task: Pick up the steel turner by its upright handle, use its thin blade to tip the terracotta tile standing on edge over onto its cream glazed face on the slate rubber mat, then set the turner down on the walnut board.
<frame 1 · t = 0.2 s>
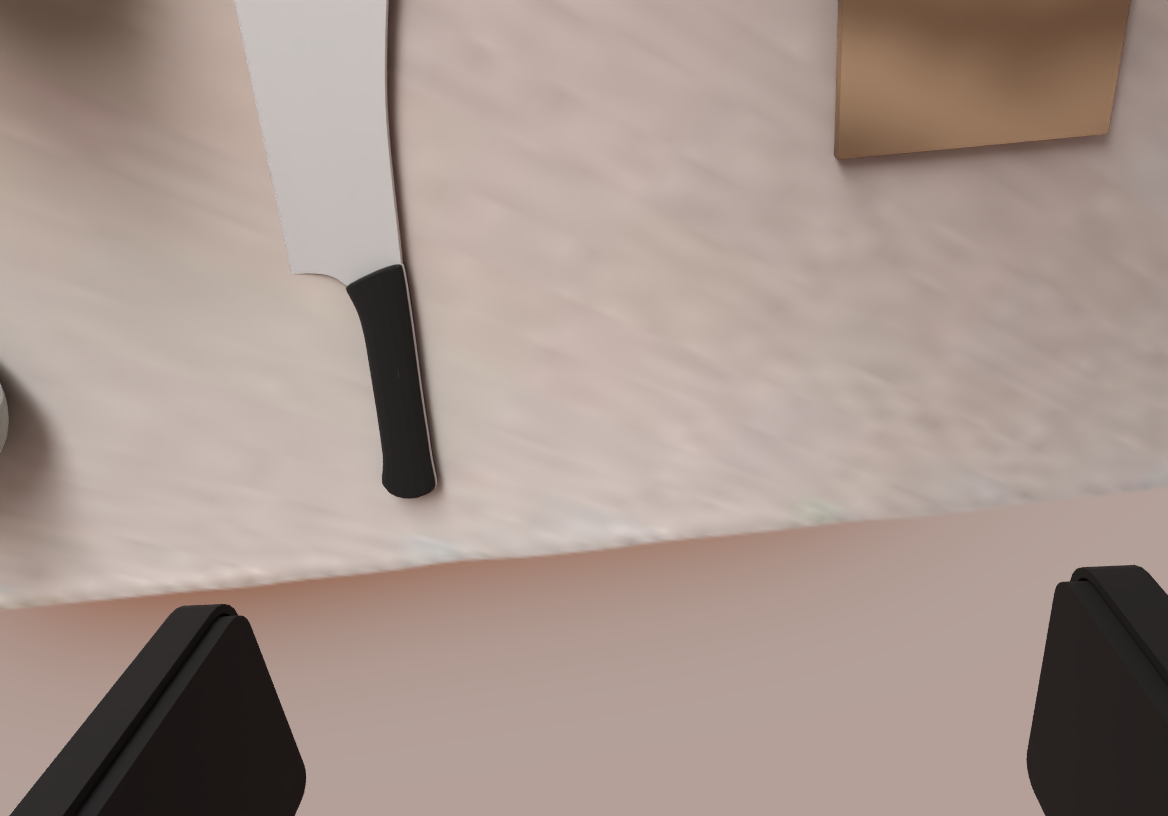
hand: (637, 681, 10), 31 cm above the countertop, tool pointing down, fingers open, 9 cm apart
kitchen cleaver: (341, 211, 40), on the countertop
board: (975, 4, 33), on the countertop
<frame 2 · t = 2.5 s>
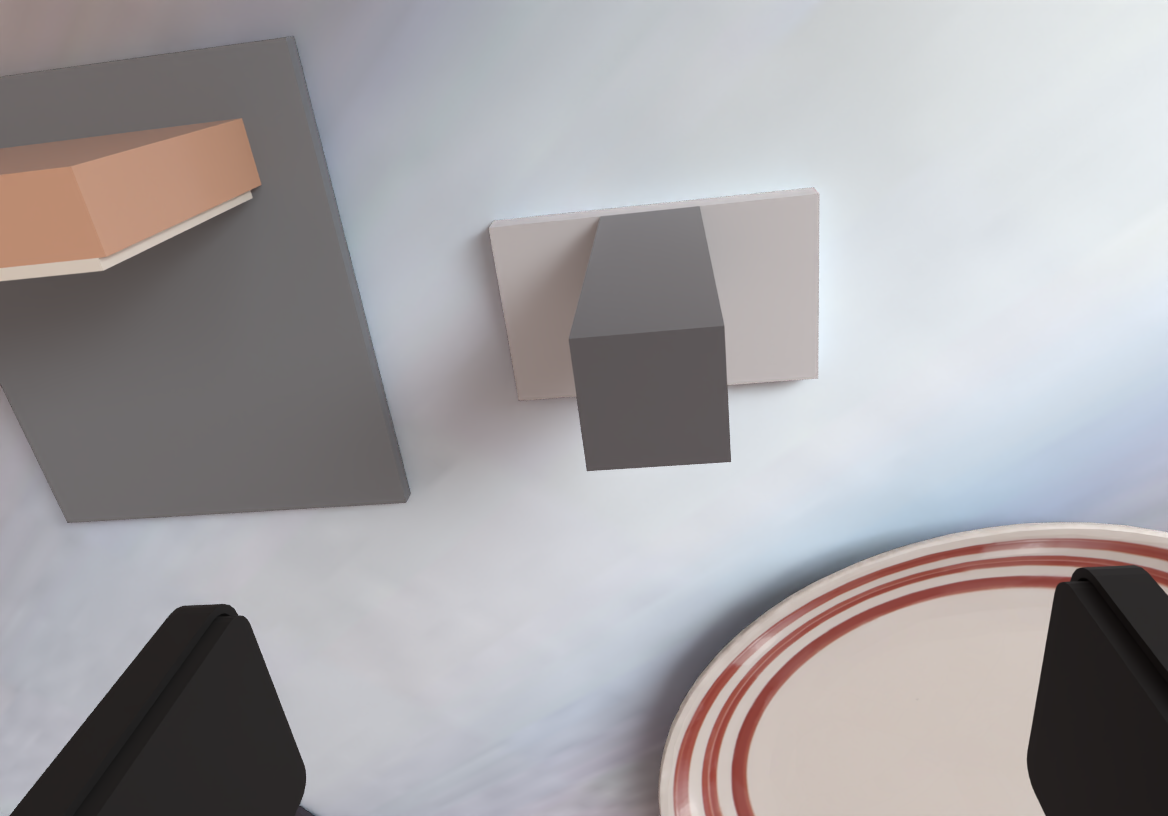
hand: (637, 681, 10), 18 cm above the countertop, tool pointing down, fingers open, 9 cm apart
tile: (103, 169, 26), point 1 cm above the countertop, touching mat
dinner plate: (975, 750, 35), on the countertop
turner: (657, 294, 27), on the countertop
mat: (168, 312, 28), on the countertop
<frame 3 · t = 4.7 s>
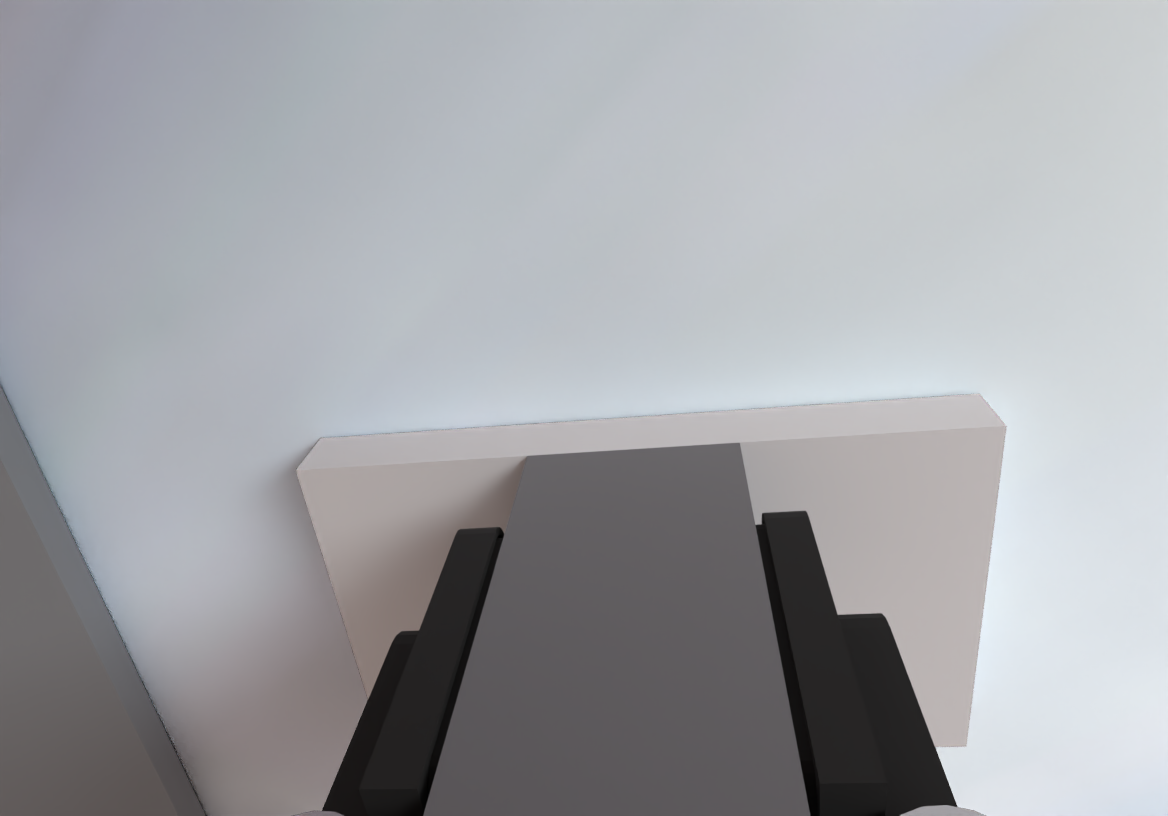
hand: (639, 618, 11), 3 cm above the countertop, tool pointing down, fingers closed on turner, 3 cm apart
turner: (649, 575, 14), on the countertop, touching gripper
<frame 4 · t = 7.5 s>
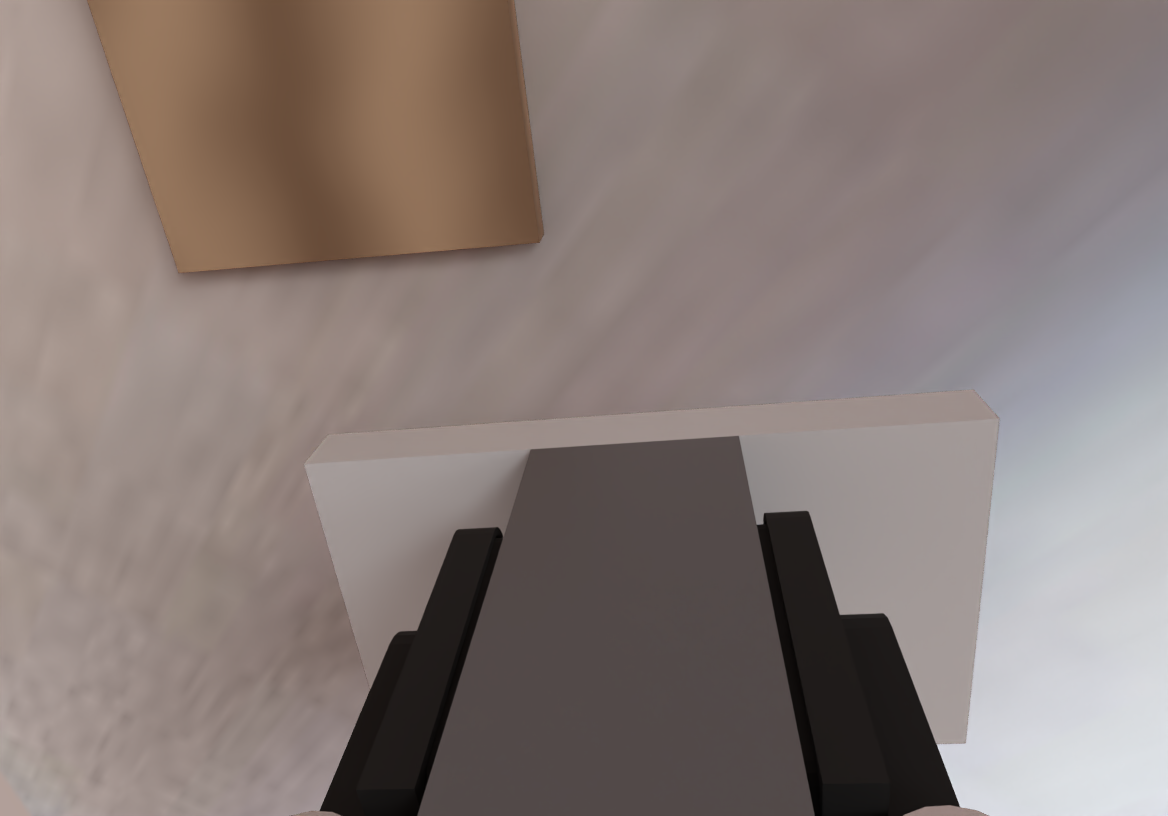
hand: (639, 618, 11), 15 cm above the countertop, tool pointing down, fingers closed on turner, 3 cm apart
board: (320, 51, 22), on the countertop
turner: (650, 572, 14), point 12 cm above the countertop, touching gripper
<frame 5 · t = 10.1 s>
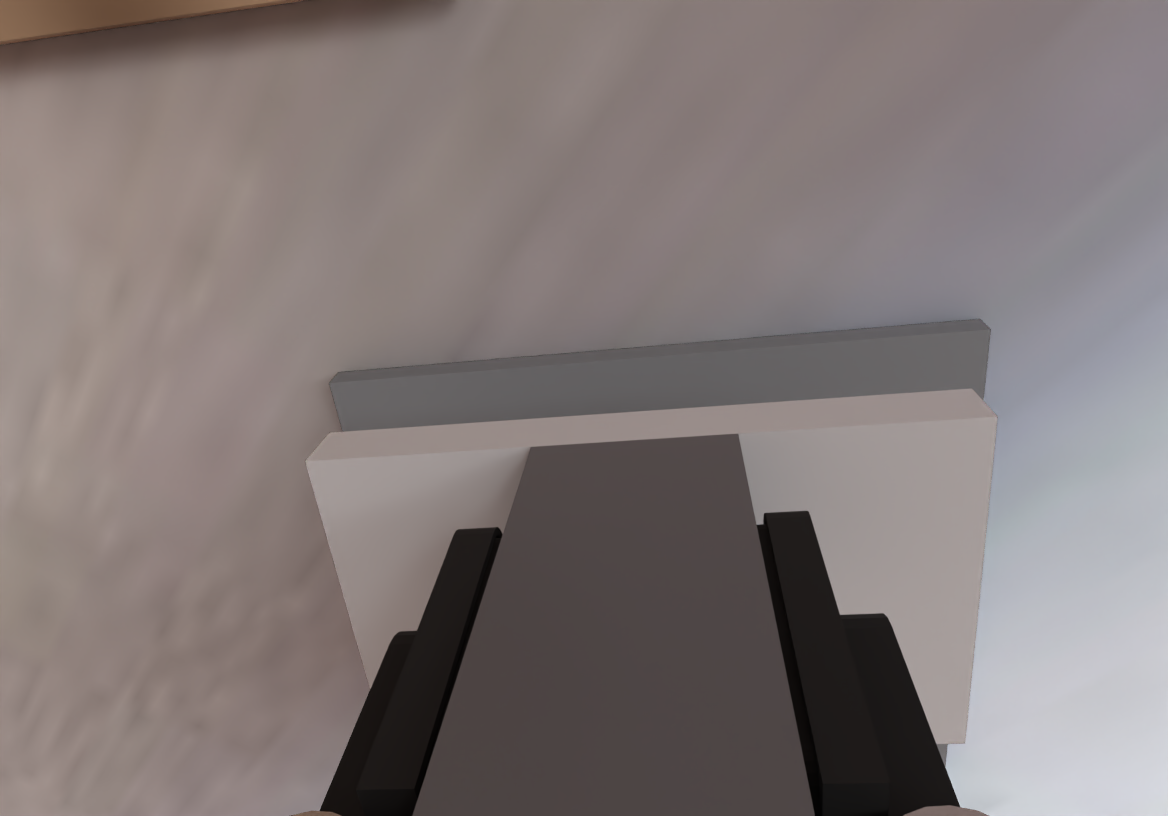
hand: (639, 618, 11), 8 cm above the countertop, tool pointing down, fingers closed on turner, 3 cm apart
turner: (650, 571, 14), point 5 cm above the countertop, touching gripper
mat: (670, 630, 21), on the countertop
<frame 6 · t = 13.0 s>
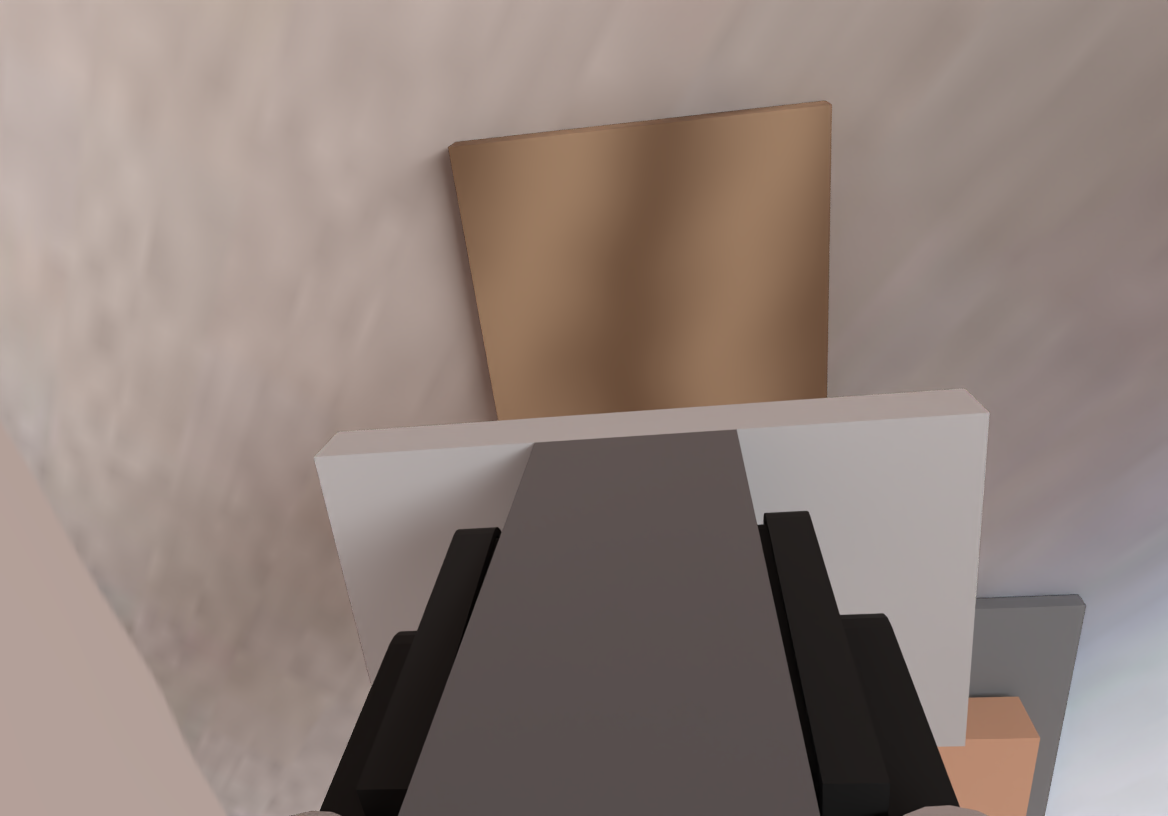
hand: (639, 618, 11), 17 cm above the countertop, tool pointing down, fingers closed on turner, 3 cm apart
board: (649, 298, 26), on the countertop
tile: (892, 719, 31), point 2 cm above the countertop, tilted 90°, touching mat
turner: (651, 572, 14), point 14 cm above the countertop, tilted 5°, touching gripper
mat: (876, 749, 35), on the countertop
when the fingers open (5 cm above the countertop, at t = 15.5 s): turner stays where it is, resting on board.
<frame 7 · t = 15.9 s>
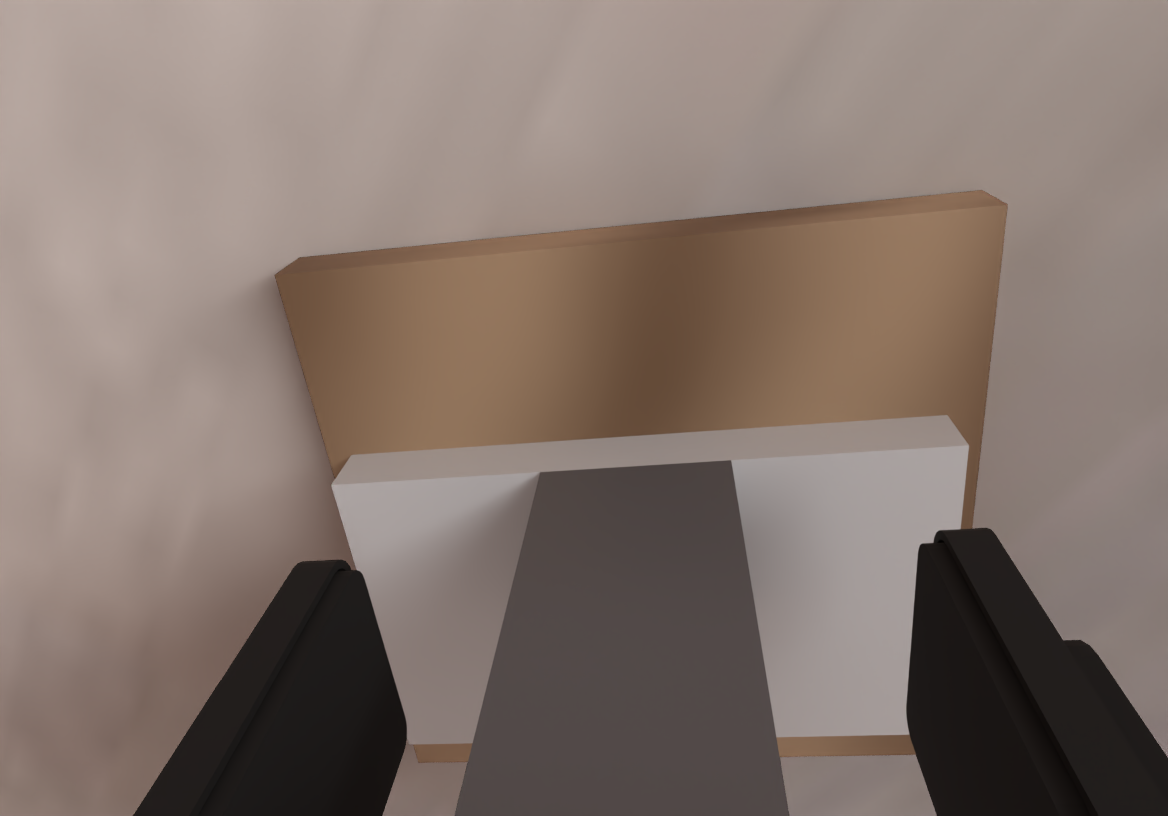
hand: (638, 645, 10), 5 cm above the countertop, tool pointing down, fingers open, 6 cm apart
board: (650, 511, 15), on the countertop
turner: (650, 578, 15), point 1 cm above the countertop, touching board
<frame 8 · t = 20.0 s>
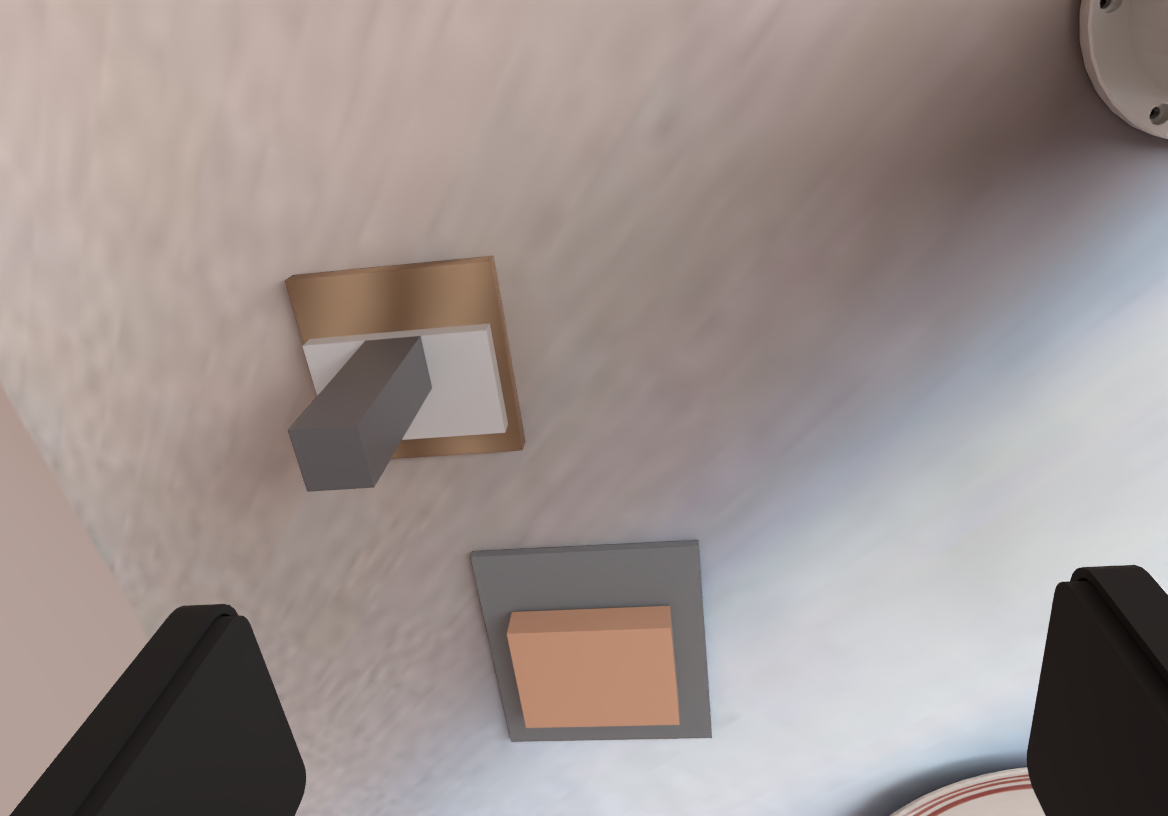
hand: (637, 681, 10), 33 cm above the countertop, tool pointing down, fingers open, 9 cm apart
board: (413, 361, 45), on the countertop
tile: (588, 619, 50), point 2 cm above the countertop, tilted 90°, touching mat
turner: (410, 382, 44), point 1 cm above the countertop, touching board
mat: (597, 645, 53), on the countertop
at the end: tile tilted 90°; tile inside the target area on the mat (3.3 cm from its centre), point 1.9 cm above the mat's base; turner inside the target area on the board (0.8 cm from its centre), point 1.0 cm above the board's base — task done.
